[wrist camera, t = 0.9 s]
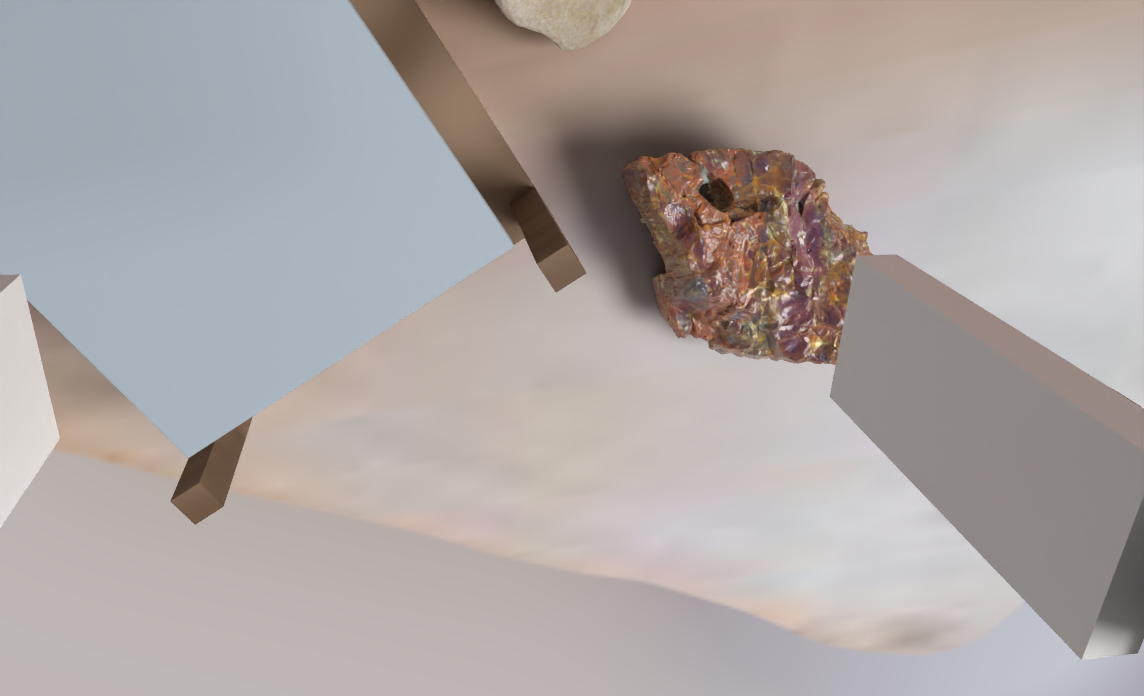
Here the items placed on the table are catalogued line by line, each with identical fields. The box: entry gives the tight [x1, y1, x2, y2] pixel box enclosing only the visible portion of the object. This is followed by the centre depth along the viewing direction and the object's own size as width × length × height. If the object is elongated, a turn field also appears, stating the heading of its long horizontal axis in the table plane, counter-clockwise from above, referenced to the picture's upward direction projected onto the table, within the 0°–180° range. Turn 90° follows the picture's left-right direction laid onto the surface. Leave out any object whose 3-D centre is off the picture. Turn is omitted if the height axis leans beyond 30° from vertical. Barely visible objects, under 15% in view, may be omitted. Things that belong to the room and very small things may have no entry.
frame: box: [171, 0, 586, 524], centre depth 29 cm, size 19×18×9 cm
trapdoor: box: [0, 0, 514, 458], centre depth 27 cm, size 16×13×4 cm
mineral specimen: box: [622, 148, 873, 365], centre depth 37 cm, size 12×8×7 cm
